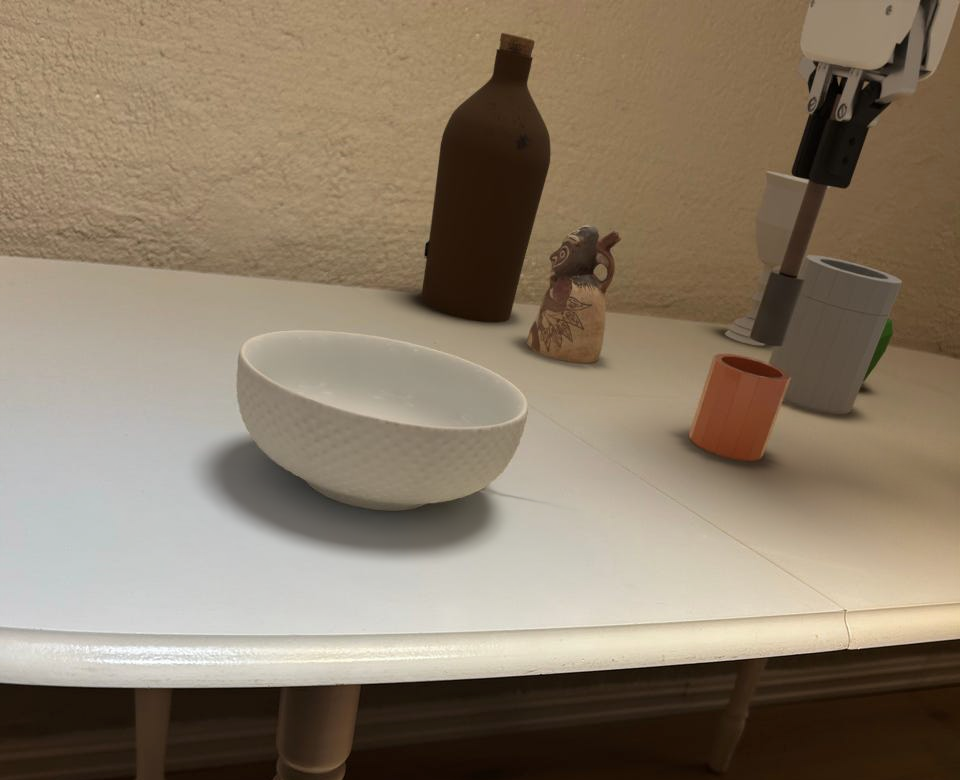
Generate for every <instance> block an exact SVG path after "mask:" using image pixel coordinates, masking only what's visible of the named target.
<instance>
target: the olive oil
mask: <svg viewBox="0 0 960 780" xmlns="http://www.w3.org/2000/svg"><path fill="white" fill-rule="evenodd" d="M499 42H500V43H499V48H498V49H496V53H495V58H494V63H493V64H494V65H493V72H492V76H491V77H490V78H489V80H488V81H487V82H486V83H485V84H484V85H482V86H481V87H480V88H479V89H478V90H476V91H475V92H474V93H472V94H471V95H470V96H469V97H468V98H467V99H465V101H463V102H462V103H461V104H460V105H459V106H457V107H456V109H454V111H453V112H452V113H451V115H450V117H449V119H448V120H447V123H446V125H445V127H444V130H443V133H442V136H441V141H440V145H439V154H438V164H437V173H436V181H435V187H434V188H435V189H434V195H433V196H434V198H433V204H432V205H433V206H432V211H431V212H432V213H431V219H430V220H431V222H430V227H429V228H430V229H429V238H428V239H429V240H428V241H426V242H425V246H424V257H423V258H424V259H426V260H425V267H424V273H423V274H424V275H423V281H422V288H421V296H420V300H421V302H422V303H423V305H425V306H426V307H428V308H430V309H432V310H434V311H437V312H439V313H443V314H444V315H449V316H452V317H454V318H455V317H456V318H460V319H463V320H468V321H475V322H482V323H483V322H484V323H504V322H508V321H509V320H510V318H511V314H512V312H513V308H514V303H515V299H516V294H517V291H518V286H519V284H520V283H519V282H520V278H521V274H522V271H523V267H524V262H525V259H526V255H527V251H528V247H529V244H530V239H531V235H532V232H533V228H534V224H535V220H536V217H537V213H538V209H539V205H540V202H541V199H542V194H543V190H544V187H545V183H546V181H547V177H548V174H549V173H548V172H549V169H550V164H551V154H552V153H551V150H552V149H551V138H550V133H549V130H548V128H547V125H546V122H545V121H544V119H543V116H542V115H541V113H540V111H539V109H538V106H537V105H536V103H535V101H534V99H533V96H532V94H531V92H530V90H529V86H528V80H529V77H530V72H531V67H532V63H533V60H534V58H533V57H532V52H533V49H534V48H535V43H536V42H535V40H534V39H532V38H527V37H523V36H518V35H515V34H511V33H506V32H502V33H500V37H499Z"/></svg>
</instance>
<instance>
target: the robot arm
mask: <svg viewBox="0 0 960 780" xmlns="http://www.w3.org/2000/svg"><path fill="white" fill-rule="evenodd" d="M959 6H960V0H810V2H809V5H808V8H807V11H806V15H805V18H804V22H803V27H802V30H801V35H800V41H799V42H800V43H799V46H800V47H799V48H800V50H801V53H802V54H803V55H802V57H801V59H800V61H799V63H798V65H797V75H799V76H800V78H801V79H802V80H803V81H804V82H805V83H806V84H807V89H808V93H809V94H808V99H807V102H806V106H805V107H806V108H805V110H806V113H807V114H808V117H807V120H806V124H805V126H804V128H803V129H804V130H803V133H802V136H801V139H800V142H799V145H798V149H797V152H796V155H795V158H794V161H793V165H792V168H791V176H794V177H798V178H802V179H806V180H810V181H811V182H813V183H816V184H821V185H827V186H829V187H833V188H838V189H843V190H845V189H847V188H849V186H850V185H851V182H852V179H853V177H854V174H855V171H856V167H857V165H858V162H859V159H860V156H861V153H862V151H863V147H864V144H865V141H866V139H867V136H868V133H869V130H870V129H872V128H874V127H876V125H877V124H878V122H879V120H880V118H881V115H882V113H883V112H884V111H885V110H886V109H887V108H888V107H889V106H890V105H891V104H892V103H893V102H894V103H895V102H897V101H900V100H903V99H906V98H909V97H912V96H913V95H914V94H915V93H916V91H917V89H918V84H919V82H920V81H924V80H926V79H929V77H931V76H932V75H933V74H934V73H935V72H936V70H937V68H938V67H939V65H940V62H941V59H942V57H943V54H944V51H945V48H946V46H947V43H948V40H949V37H950V34H951V31H952V28H953V25H954V21H955V19H956V15H957V12H958V8H959ZM838 78H840V81H839V79H838ZM865 83H867V84H866V85H865ZM864 85H865V86H864ZM837 94H842V96H841V99H840V102H839V104H838V107H837V110H836V119H837V121H836V120H832V119H829V117H830V114H831V111H832V108H833V105H834V102H835V99H836V96H837Z"/></svg>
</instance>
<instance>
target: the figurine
mask: <svg viewBox="0 0 960 780" xmlns="http://www.w3.org/2000/svg"><path fill="white" fill-rule="evenodd" d="M621 240H622V238H621V236H620V233H619V231H618V230H613V231H611V232H610V233H608V234H606V235H605V236H603V237H602V238H600V234H599V230H598V228H597V226H595V225H593V224H584V225H581V226H579V227H577V228H576V229H574V230H573V231H571V232H570V233H568V234H567V235H566V236H565V237H564V239H563V240H562V242H561V244H560V247H559V248H558V249H556V251H554V252H553V253H552V254H551V255H550V256H549V260H550V263H551V269H550V272H549V276H548V280H549V283H550V285H549V287H548V289H547V290H546V292H545V294H544V296H543V299H542V301H541V304H540V307H539V310H538V312H537V314H536V317H535V319H534V321H533V323H532V325H531V326H530V329H529V332H528V336H527V340H526V345H527V346H528V347H529V348H530V350H531V351H533V352H535V353H536V354H540V355H542V356H545V357H548V358H551V359H555V360H558V361H563V362H568V363H575V364H592V363H596V362H597V361H598V360H599V358H600V355H601V352H602V349H603V343H604V338H605V337H604V336H605V329H606V314H607V313H606V311H607V306H606V305H607V299H606V292H607V291H608V288H609V286H610V284H611V283H612V282H613V278H614V275H615V269H616V268H615V267H616V266H615V265H616V264H615V258H614V256H613V254H612V252H611V249H612V248H614V246H616V245H617V244H618V243H619V242H621ZM599 265H602V266H604V267H605V268H606V277H605V279H603V280H601V279H600V278H599V277H598V276H597V275H596V274H595V273H594V272H595V269H596V268H597V266H599Z"/></svg>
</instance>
